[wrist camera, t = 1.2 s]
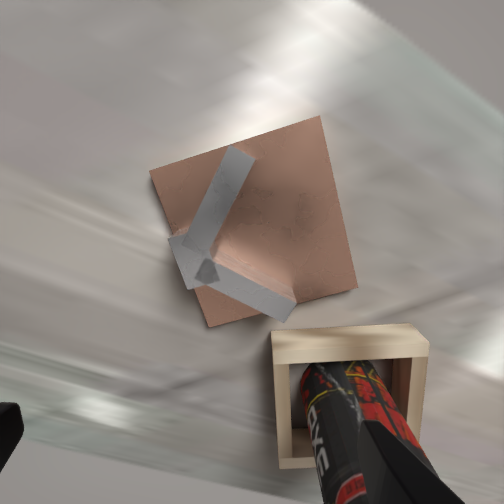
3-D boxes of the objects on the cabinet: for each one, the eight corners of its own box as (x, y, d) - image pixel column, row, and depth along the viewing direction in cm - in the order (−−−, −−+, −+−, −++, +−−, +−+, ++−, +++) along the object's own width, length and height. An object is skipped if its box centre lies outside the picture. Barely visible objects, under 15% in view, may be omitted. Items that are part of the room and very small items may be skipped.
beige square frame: (277, 439, 24) (279, 469, 22) (270, 330, 22) (272, 351, 19) (400, 433, 24) (416, 463, 22) (410, 323, 21) (429, 342, 19)
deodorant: (379, 411, 24) (575, 795, 9) (304, 420, 24) (380, 805, 9) (376, 346, 22) (607, 688, 8) (296, 356, 22) (371, 704, 8)
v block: (316, 117, 18) (329, 107, 15) (354, 282, 21) (371, 303, 18) (153, 170, 19) (133, 171, 16) (210, 321, 22) (203, 347, 18)
